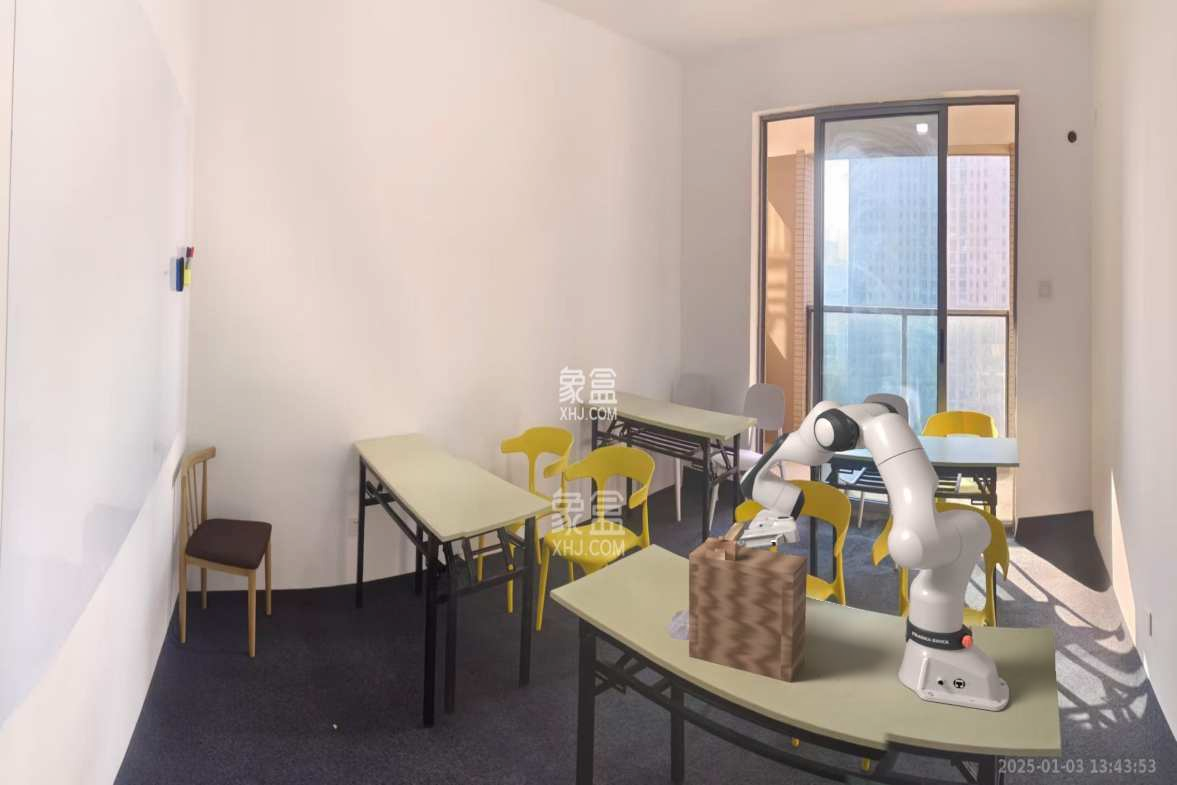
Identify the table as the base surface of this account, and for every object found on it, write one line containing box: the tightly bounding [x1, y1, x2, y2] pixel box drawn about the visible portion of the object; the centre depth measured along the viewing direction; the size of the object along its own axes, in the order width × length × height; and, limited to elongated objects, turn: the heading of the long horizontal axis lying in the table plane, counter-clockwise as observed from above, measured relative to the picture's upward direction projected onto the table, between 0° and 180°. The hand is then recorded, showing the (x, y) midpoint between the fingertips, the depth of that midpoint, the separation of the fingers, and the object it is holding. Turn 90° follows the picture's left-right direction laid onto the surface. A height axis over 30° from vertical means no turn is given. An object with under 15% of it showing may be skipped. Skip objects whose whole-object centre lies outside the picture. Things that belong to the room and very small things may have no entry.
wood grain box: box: [688, 540, 808, 683], centre depth 186 cm, size 25×11×26 cm, turn 59°
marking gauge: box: [705, 522, 745, 561], centre depth 191 cm, size 7×20×5 cm, turn 156°
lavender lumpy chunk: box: [668, 609, 689, 641], centre depth 203 cm, size 12×5×10 cm
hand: (756, 545), depth 204 cm, fingers open, 8 cm apart
